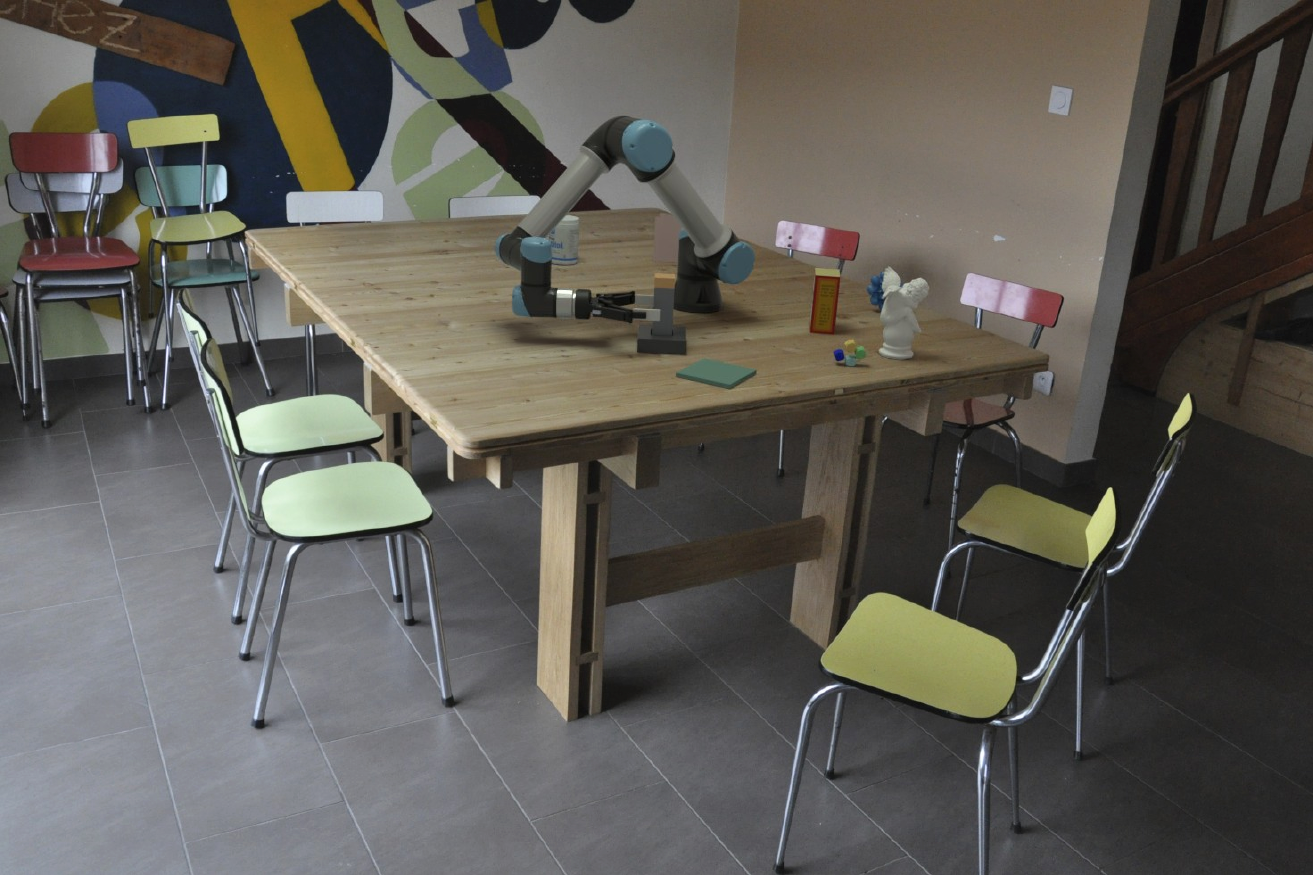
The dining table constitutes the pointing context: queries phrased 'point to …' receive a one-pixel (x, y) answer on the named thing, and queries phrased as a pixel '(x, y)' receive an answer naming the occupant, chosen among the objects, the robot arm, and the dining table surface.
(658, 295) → the plug
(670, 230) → the greeting card
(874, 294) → the grapes
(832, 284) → the baking soda box
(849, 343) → the dice
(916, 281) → the cherub figurine
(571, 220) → the supplement tub
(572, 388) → the dining table surface
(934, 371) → the dining table surface
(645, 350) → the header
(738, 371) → the mat
